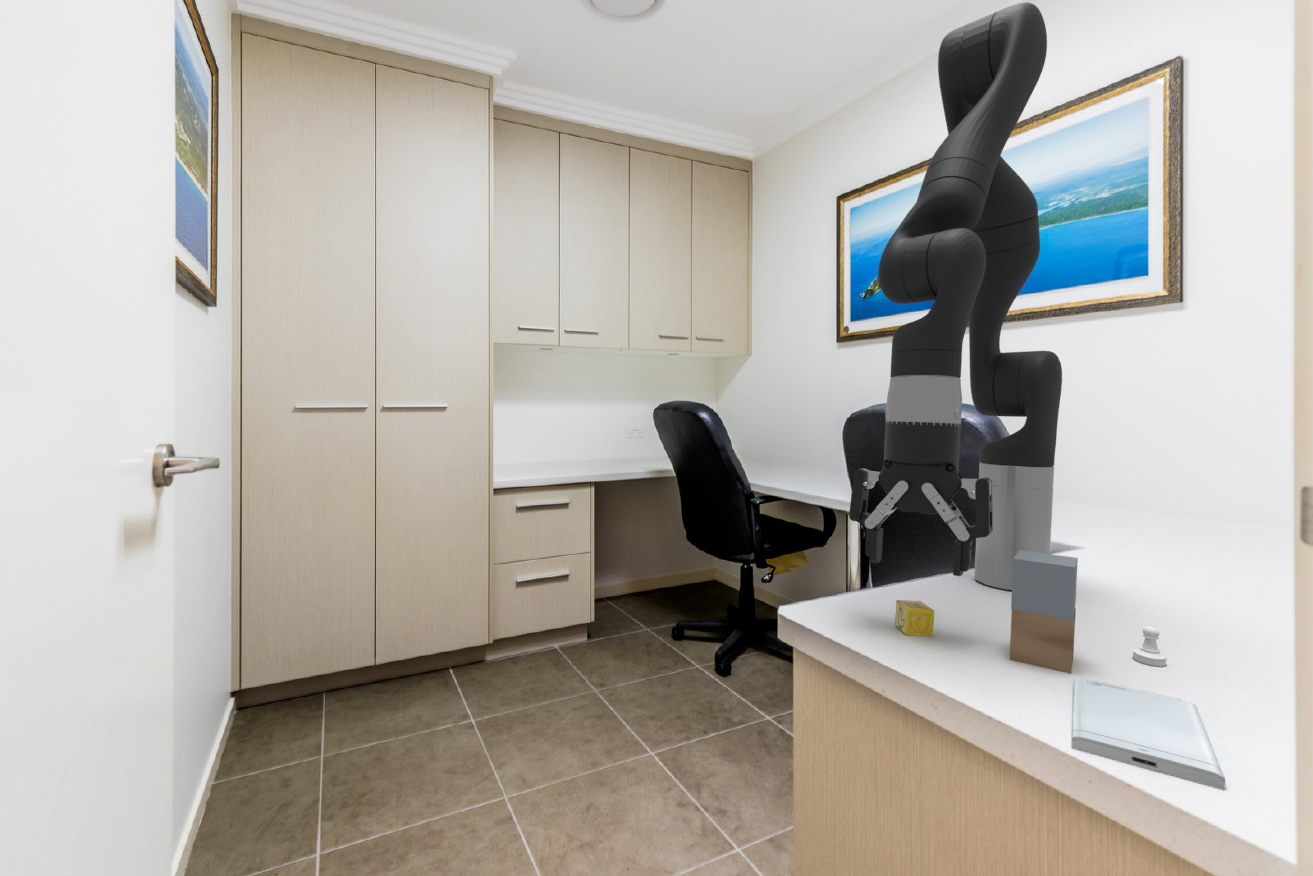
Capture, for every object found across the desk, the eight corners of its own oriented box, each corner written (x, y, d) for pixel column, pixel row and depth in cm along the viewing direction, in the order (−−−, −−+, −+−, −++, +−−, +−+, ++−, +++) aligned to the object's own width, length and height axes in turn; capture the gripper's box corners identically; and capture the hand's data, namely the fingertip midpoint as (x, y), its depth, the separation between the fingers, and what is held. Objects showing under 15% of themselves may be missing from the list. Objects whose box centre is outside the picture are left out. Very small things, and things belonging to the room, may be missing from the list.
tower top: (1017, 597, 64) (1019, 550, 64) (1075, 607, 61) (1077, 557, 61) (1011, 609, 60) (1013, 558, 60) (1072, 620, 57) (1075, 567, 57)
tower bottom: (1015, 645, 64) (1017, 598, 64) (1073, 657, 61) (1075, 608, 61) (1009, 660, 60) (1011, 609, 60) (1070, 673, 57) (1073, 620, 57)
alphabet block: (921, 627, 69) (922, 600, 69) (933, 637, 66) (935, 609, 66) (894, 626, 69) (895, 599, 69) (905, 636, 66) (906, 608, 66)
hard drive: (1073, 675, 54) (1071, 732, 44) (1196, 702, 49) (1226, 773, 39) (1072, 693, 54) (1070, 755, 44) (1195, 722, 49) (1224, 798, 39)
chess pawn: (1160, 659, 61) (1162, 624, 61) (1170, 669, 59) (1172, 633, 59) (1128, 655, 62) (1130, 620, 62) (1137, 664, 60) (1139, 629, 60)
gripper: (1001, 422, 65) (993, 573, 66) (867, 419, 74) (860, 552, 74) (991, 421, 59) (982, 587, 60) (846, 417, 68) (839, 562, 68)
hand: (915, 568), depth 67 cm, fingers open, 8 cm apart
